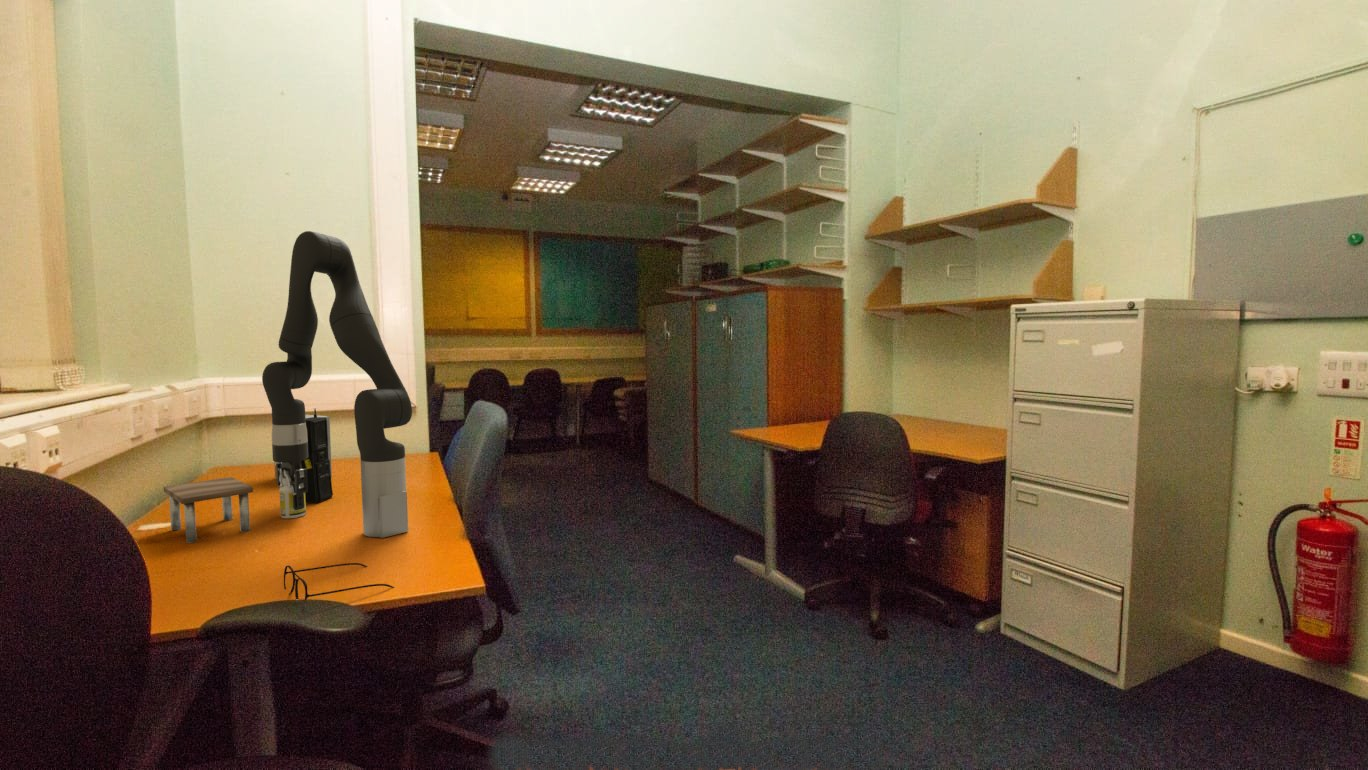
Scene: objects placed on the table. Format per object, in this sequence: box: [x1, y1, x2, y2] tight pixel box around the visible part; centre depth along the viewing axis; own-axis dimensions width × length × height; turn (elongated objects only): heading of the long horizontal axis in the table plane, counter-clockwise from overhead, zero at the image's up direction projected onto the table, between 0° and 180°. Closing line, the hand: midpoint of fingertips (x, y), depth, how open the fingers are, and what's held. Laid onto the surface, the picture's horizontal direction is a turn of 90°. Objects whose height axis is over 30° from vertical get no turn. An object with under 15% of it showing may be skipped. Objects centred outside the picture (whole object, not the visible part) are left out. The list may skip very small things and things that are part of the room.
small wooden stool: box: [163, 476, 254, 544], centre depth 143 cm, size 16×13×10 cm
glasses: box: [283, 562, 395, 601], centre depth 111 cm, size 14×15×5 cm
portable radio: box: [301, 409, 334, 504], centre depth 167 cm, size 8×6×25 cm
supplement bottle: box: [279, 477, 307, 519], centre depth 154 cm, size 5×5×10 cm
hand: (293, 506), depth 154 cm, fingers open, 7 cm apart
